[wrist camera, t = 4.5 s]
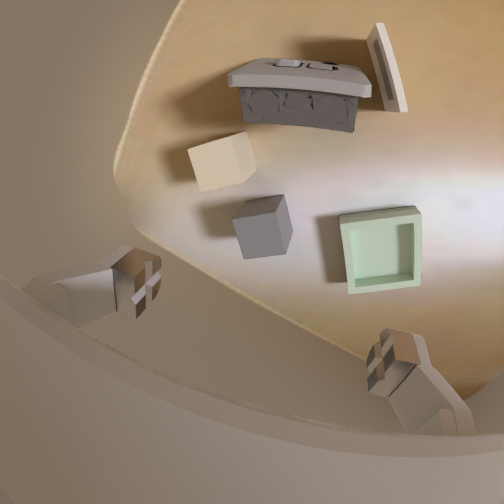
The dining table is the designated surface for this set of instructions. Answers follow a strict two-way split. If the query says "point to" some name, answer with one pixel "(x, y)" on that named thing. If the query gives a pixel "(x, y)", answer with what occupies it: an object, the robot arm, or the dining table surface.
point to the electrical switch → (300, 92)
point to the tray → (382, 249)
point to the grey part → (263, 227)
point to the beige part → (223, 161)
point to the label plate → (386, 69)
